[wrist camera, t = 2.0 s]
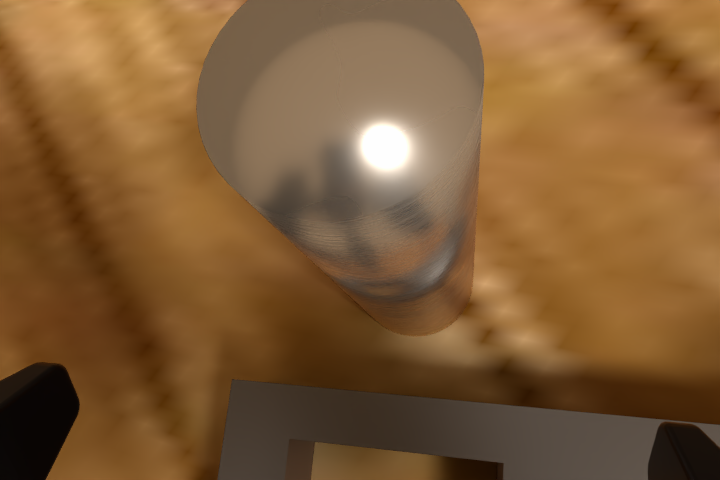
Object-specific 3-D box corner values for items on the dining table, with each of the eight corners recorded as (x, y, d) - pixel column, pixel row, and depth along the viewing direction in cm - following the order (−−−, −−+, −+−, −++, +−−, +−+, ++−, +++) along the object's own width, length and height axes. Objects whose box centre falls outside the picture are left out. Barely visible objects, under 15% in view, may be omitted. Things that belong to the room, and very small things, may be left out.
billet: (438, 357, 19) (388, 274, 7) (339, 302, 20) (144, 145, 8) (492, 256, 20) (537, 12, 7) (393, 207, 21) (290, -74, 9)
